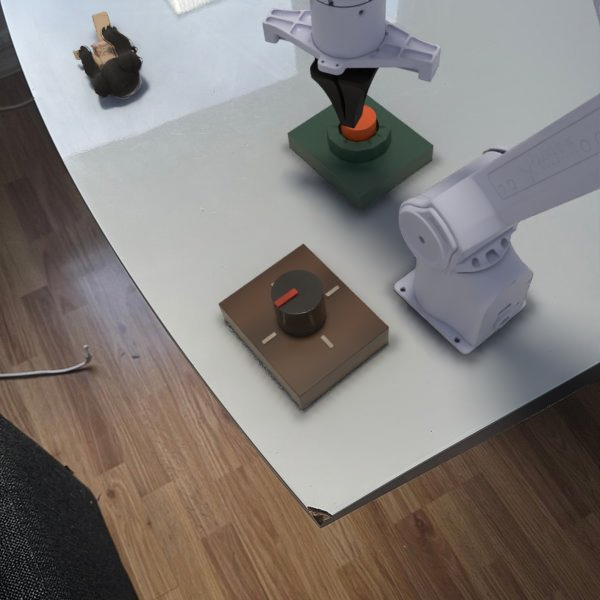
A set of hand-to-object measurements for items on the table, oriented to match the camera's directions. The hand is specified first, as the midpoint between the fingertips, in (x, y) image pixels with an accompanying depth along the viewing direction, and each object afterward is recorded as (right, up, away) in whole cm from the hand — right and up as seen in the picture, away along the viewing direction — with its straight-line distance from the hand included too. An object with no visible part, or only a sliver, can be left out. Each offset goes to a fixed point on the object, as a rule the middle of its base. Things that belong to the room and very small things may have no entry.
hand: (351, 119), depth 60 cm
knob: (-5, -18, -1) cm, 18 cm away
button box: (+2, -1, +12) cm, 12 cm away
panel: (-4, -19, +1) cm, 20 cm away
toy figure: (-28, +13, +23) cm, 38 cm away
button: (+1, +1, +9) cm, 9 cm away
